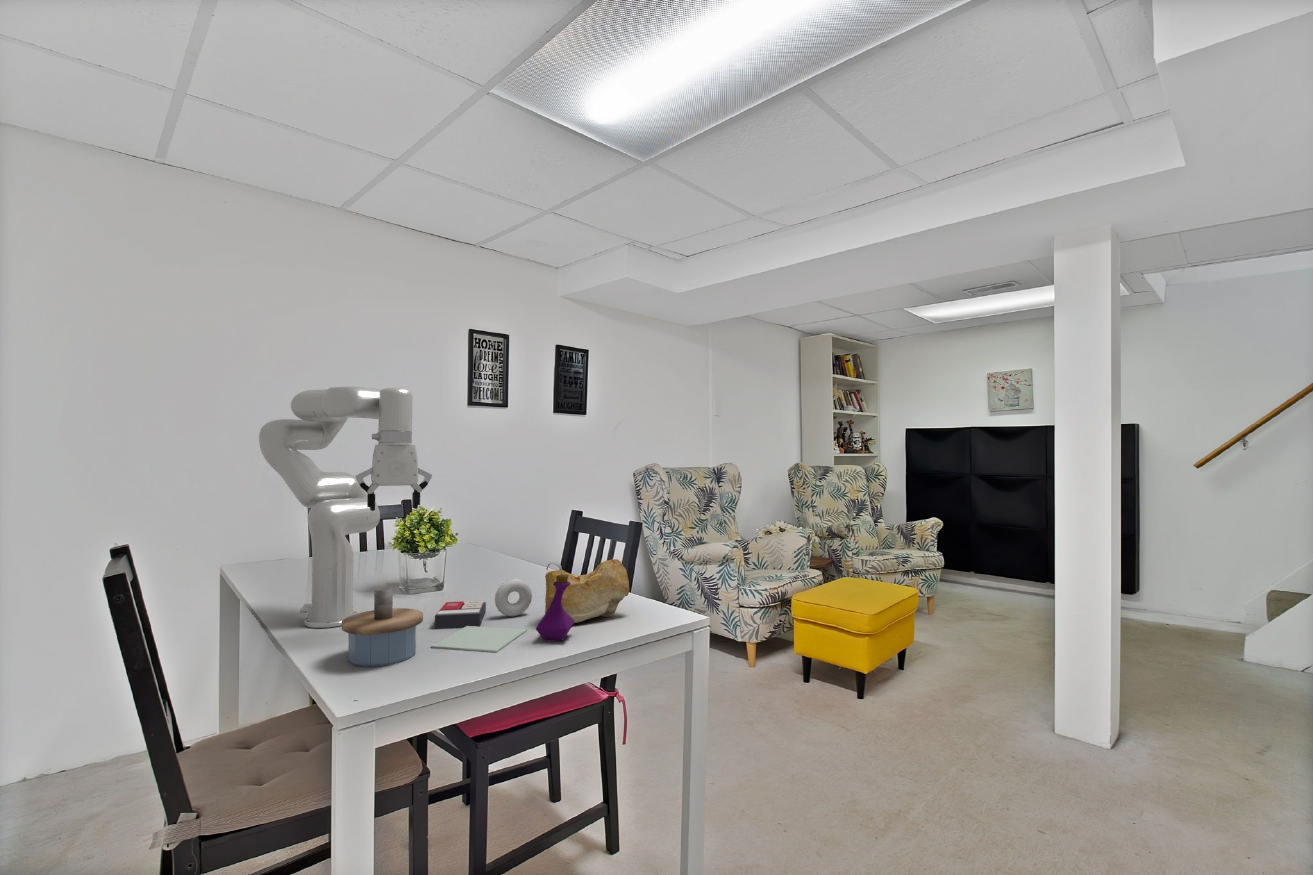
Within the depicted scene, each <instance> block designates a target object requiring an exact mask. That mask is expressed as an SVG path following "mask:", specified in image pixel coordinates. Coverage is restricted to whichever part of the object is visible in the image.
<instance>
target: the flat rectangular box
mask: <svg viewBox="0 0 1313 875" xmlns="http://www.w3.org/2000/svg"><path fill="white" fill-rule="evenodd" d="M486 609H487V602H486V601H484V600H467V601H463V600H462V601H446V602H445V603H444V604H443V605H442V606H441V608H440V609H438V611H437V612H436V614H435V615H434V630H446V629H447V630H449V629H450V630H451V629H462V628H464V627H466V626H477V627H482V623H483V622H482V621H483V620H484V617H485V614H486Z"/></svg>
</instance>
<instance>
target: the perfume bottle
mask: <svg viewBox="0 0 1313 875" xmlns="http://www.w3.org/2000/svg"><path fill="white" fill-rule="evenodd" d="M551 564H552V565H555V566H557V568H558V569H559V570H561V572H562V570H563V569H562V565H561V564H560V563H559V562H558V561H551V562H548V564H547V566H546V568H545V569H546V571H549V570H548V569H549V567H550V566H551ZM568 577H569V575H567V574H563V573H562V575H558V576H557V577H556V582H554V583H553V585H554V586H555V588H556V592H555V595H554V598H553V600H552V602H551V604H550V606H549V608H548V610H547V612H546V613H545V612H544V613H545V614H544V615H543V617H541V620H540V621H539V623H538V624H537V626H536V627H535V630H536V632H537V633H538V634H539V635H540V636H541V638H542V640H544V642H563V641H562V640H565V638H566V637H567V635H568V633H569V632H570V630H571V628H572V626H574V624H575V623H574V620H573V619H572V618H571V617H570V616H569V615H568V614H567V613H566V611H565V610H564V609H563V607H562V596H563V593H564V590H565V589H566V588H567V586H570V582H568V581H567V580H568Z"/></svg>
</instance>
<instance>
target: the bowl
mask: <svg viewBox="0 0 1313 875" xmlns="http://www.w3.org/2000/svg"><path fill="white" fill-rule="evenodd" d="M347 648H348V650H347V651H348V656H347V658H348V661H349V663H350V664H351V665H353V666H356V667H365V668H369V667H370V668H373V667H375V668H376V667H382V666H383V667H384V666H390V665H394V664H398V663H401V662H404V661H407V660H410V659H411V658H413V657H414V656H415V655H416V650H417V626H414V627H412V628H409V629H405V630H401V631H396V632H391V633H383V634H370V635H361V634H351V633H348V647H347Z"/></svg>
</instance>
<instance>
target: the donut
mask: <svg viewBox="0 0 1313 875" xmlns="http://www.w3.org/2000/svg"><path fill="white" fill-rule="evenodd" d="M513 592H516V593H518V594H519V599H518V600H517V601H516V602H515V603H511V602H510V601H509V600H508V599H509V596H510V594H511V593H513ZM494 595H495V596H494V603H495V607H496V609H497V611H498V612H500V614H502V615H504V616H506V617H516V616H517V617H518V616H520V615H522V614H523V613H525V612H526V611H527V610H528V609H529V607H530V605H531V603H532V598H533V592H532V589H531V587H530V585H529V584H528V583H527V582H526V581H525V580H523V579H519V578H512V579H507V580H506V581H504V582H502V583H501V585H499V587H498V588H497V590H496V592H495V594H494Z"/></svg>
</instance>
